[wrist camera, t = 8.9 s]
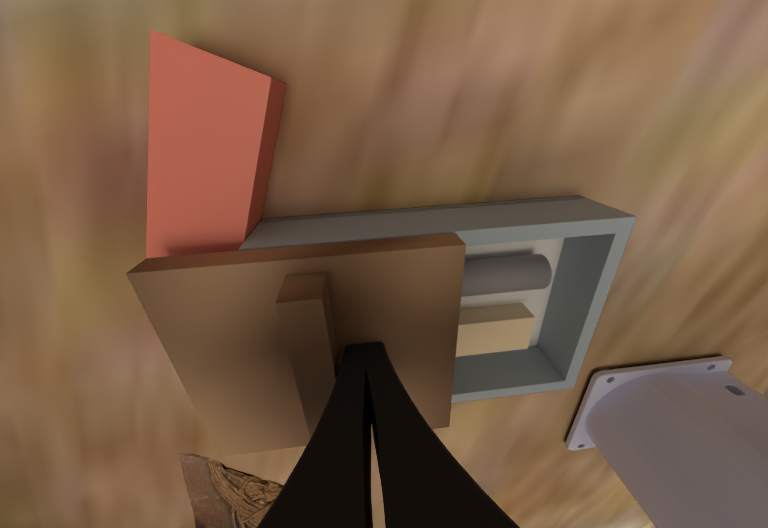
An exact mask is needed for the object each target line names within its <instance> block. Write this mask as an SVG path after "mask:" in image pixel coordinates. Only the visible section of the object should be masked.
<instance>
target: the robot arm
mask: <svg viewBox="0 0 768 528" xmlns="http://www.w3.org/2000/svg"><path fill="white" fill-rule="evenodd" d="M731 364H732V360H730V359H729V358H727V357H725V356H719V357H711V358H703V359H694V360H686V361H678V362H670V363H661V364H653V365H645V366H637V367H629V368H620V369H612V370H604V371H598V372H596V373H595V374H593V376H592V378H591V380H590V383H589V385H588V388H587V390H586V393H585V395H584V398H583V400H582V403H581V405H580V408H579V410H578V413H577V415H576V418H575V420H574V423H573V425H572V428H571V430H570V433H569V435H568V438H567V440H566V443H565V445H566V446H567V448H568V449H569V450H571V451H573V450H580V449H587V448H594V447H597V448H598V449H599V451H600V452H601V453H602V455H603V456H604V458H605V459H606V460H607V462H608V463H609V464H610V466H611V467H612V468H613V470H614V471H615V472H616V474H617V475H618V477H619V478H620V479H621V481H622V482H623V483H624V485H625V486H626V487H627V489H628V490H629V491H630V493H631V494H632V496H633V497H634V498H635V500H636V501H637V502H638V504H639V505H640V506H641V508H642V509H643V510H644V512H645V513H646V515H647V516H648V517H649V519H650V520H651V521H652V523H653V524H654V525H655V527H656V528H768V399H766V398H765V397H763V396H762V395H760V394H759V393H758V392H756V391H755V390H753V389H752V388H750V387H749V386H747V385H746V384H745V383H743V382H742V381H740V380H739V379H737V378H736V377H734V376H733V375H732V374H730V373H729V372H727V370H728V369H729V368H730V366H731ZM371 424H372V430H373V436H374V442H375V448H376V454H377V460H378V467H379V473H380V479H381V486H382V493H383V502H384V513H385V525H386V528H520V527H519V526H518V525H517V524H516V523H515V522H514V521H513V520H512V519H511V518H510V517H509V516H508V515H507V514H505V513H504V512H503V511H502V509H501V508H500V507H499V506H498V505H497V504H496V503H495V502H494V501H493V500H492V499H491V498H490V497H489V496H488V495H487V494H486V493H485V492H484V491H483V490H482V489H481V488H480V486H479V485H478V484H477V483H476V482H475V481H474V480H473V479H472V477H471V476H470V475H469V474H468V473H467V472H466V471H465V469H464V468H463V467H462V466H461V465H460V464H459V463H458V462H457V460H456V459H455V458H454V457H453V456H452V454H451V453H450V452H449V451H448V450H447V448H446V447H445V446H444V445H443V443H442V442H441V441H440V439H439V438H438V437H437V436H436V434H435V433H434V432H433V430H432V429H431V428H430V426H429V425H428V423H427V422H426V421H425V419H424V418H423V416H422V415H421V413H420V412H419V410H418V409H417V407H416V406H415V404H414V403H413V401H412V400H411V398H410V396H409V395H408V393H407V391H406V390H405V388H404V386H403V384H402V383H401V381H400V379H399V377H398V375H397V374H396V372H395V370H394V368H393V365H392V363H391V361H390V359H389V357H388V354H387V352H386V349H385V345H384V343H383V342H381V341H378V342H369V343H359V344H350V345H347V346H346V347H345V351H344V356H343V360H342V364H341V367H340V370H339V373H338V377H337V379H336V382H335V385H334V387H333V390H332V393H331V395H330V398H329V400H328V403H327V405H326V407H325V409H324V411H323V414H322V416H321V418H320V420H319V423H318V425H317V427H316V429H315V431H314V433H313V435H312V437H311V439H310V441H309V443H308V445H307V446H306V448H305V450H304V452H303V454H302V456H301V457H300V459H299V461H298V463H297V464H296V466H295V468H294V470H293V471H292V473H291V475H290V476H289V478H288V480H287V482H286V483H285V485H284V486H283V488H282V490H281V491H280V493H279V494H278V496H277V498H276V499H275V501H274V502H273V504H272V505H271V507H270V508H269V510H268V511H267V513H266V514H265V516H264V517H263V519H262V520H261V522H260V523H259V525H258V526H257V528H373V520H372V504H371Z"/></svg>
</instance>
